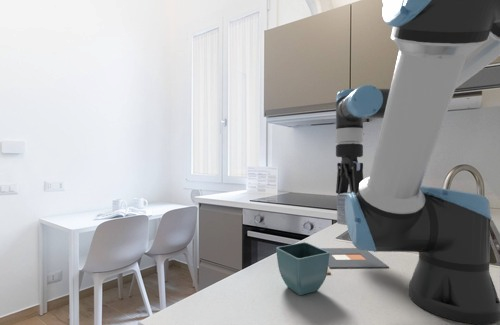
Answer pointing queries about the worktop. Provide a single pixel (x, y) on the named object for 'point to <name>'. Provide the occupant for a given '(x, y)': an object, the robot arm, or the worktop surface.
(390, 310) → the worktop surface
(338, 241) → the worktop surface
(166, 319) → the worktop surface
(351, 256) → the mat
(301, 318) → the worktop surface
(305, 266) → the flower pot
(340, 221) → the medicine box
